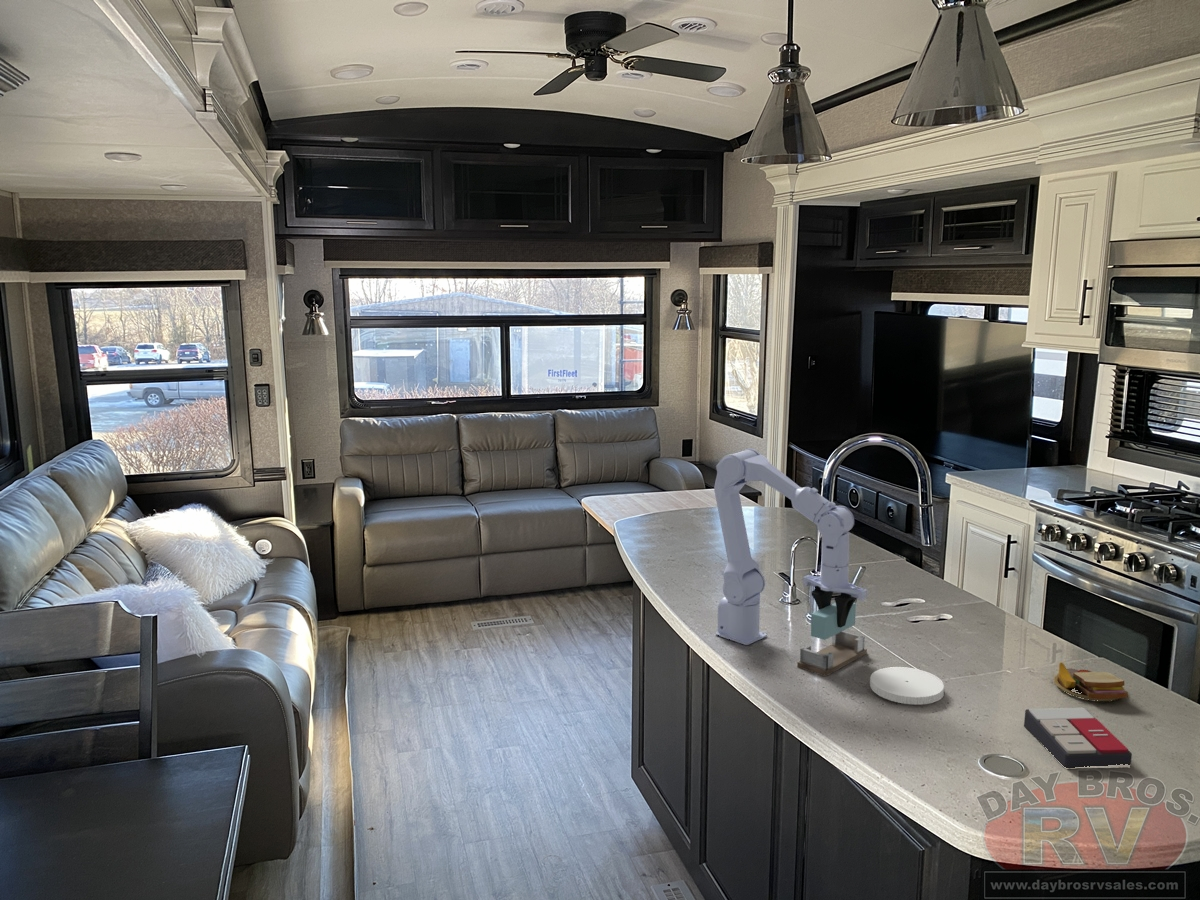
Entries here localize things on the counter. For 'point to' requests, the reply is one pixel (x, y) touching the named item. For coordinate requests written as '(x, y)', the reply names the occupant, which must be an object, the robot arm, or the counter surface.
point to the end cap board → (835, 658)
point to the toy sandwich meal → (1090, 684)
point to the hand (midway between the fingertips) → (833, 623)
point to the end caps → (827, 660)
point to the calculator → (1076, 737)
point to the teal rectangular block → (829, 622)
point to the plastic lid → (907, 685)
